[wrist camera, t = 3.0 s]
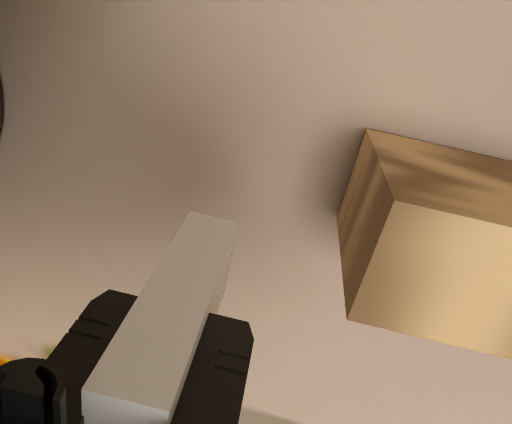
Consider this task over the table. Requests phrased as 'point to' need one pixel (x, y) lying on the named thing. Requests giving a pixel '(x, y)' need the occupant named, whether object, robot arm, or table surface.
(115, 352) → the robot arm
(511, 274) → the plug
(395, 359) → the table surface
